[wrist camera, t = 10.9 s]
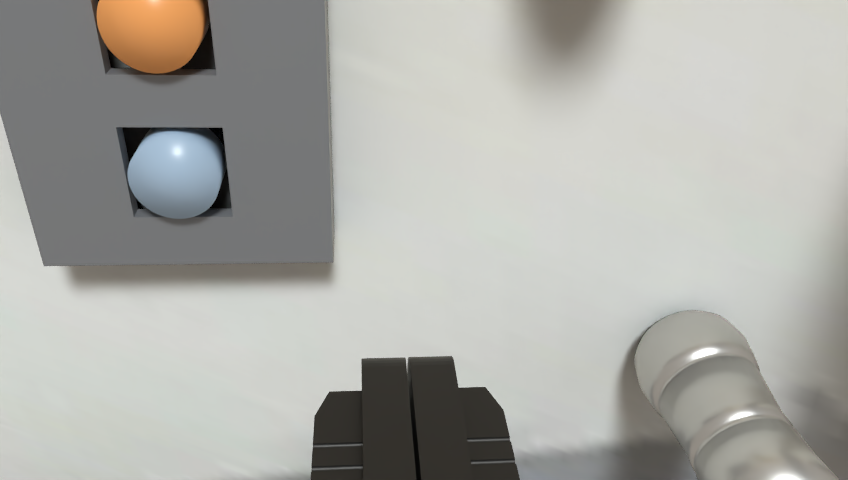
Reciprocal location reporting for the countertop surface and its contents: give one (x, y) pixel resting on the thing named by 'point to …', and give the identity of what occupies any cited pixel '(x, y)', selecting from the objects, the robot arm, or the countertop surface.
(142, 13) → the orange button
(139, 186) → the blue button
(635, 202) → the countertop surface
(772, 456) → the plastic bottle
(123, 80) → the button box
